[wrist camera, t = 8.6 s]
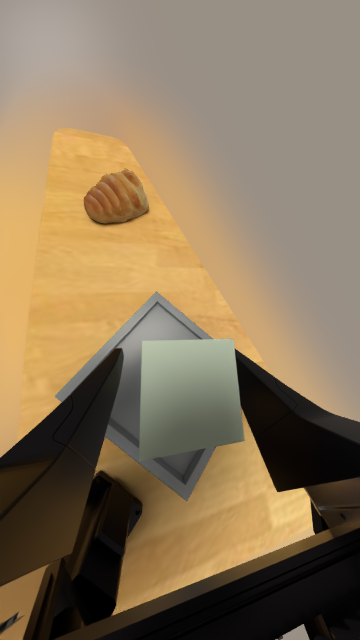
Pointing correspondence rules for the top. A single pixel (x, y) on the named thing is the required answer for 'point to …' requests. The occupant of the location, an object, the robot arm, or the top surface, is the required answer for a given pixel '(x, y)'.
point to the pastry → (116, 198)
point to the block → (188, 397)
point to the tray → (124, 422)
